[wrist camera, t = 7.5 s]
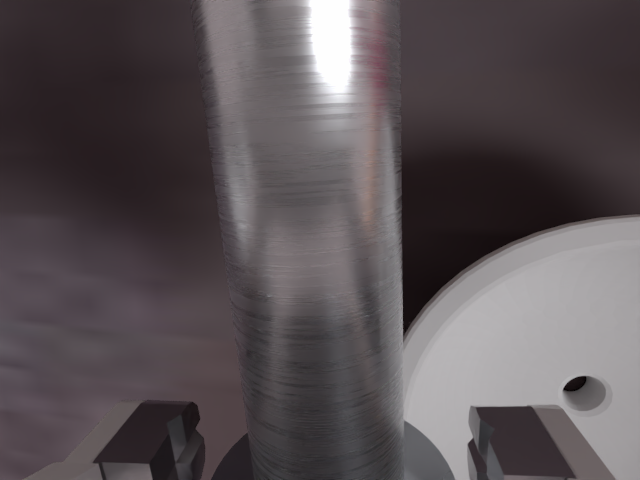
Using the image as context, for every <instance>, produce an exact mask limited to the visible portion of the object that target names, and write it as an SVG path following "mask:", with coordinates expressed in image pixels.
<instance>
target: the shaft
mask: <svg viewBox="0 0 640 480" xmlns="http://www.w3.org/2000/svg"><path fill="white" fill-rule="evenodd" d="M190 5H191V12H192V20H193V27H194V35H195V42H196V50H197V57H198V65H199V72H200V80H201V87H202V94H203V102H204V109H205V117H206V124H207V132H208V139H209V147H210V154H211V162H212V169H213V176H214V184H215V191H216V199H217V206H218V214H219V221H220V229H221V236H222V244H223V251H224V258H225V266H226V273H227V281H228V288H229V296H230V303H231V311H232V318H233V326H234V333H235V340H236V348H237V355H238V363H239V370H240V378H241V385H242V393H243V400H244V408H245V415H246V422H247V430H248V433H247V434H245V435H244V436H243V437H242V438H241V439H240V440H239V441H238V442H237V443H236V444H235V445H234V446H233V447H232V448H231V449H230V450H229V452H228V453H227V454H226V455H225V457H224V458H223V460H222V461H221V463H220V464H219V466H218V467H217V469H216V471H215V473H214V475H213V477H212V479H211V480H455V477H454V475H453V473H452V471H451V469H450V467H449V465H448V463H447V461H446V460H445V458H444V457H443V455H442V454H441V452H440V451H439V450H438V449H437V447H436V446H435V445H434V444H433V443H432V442H431V441H430V440H429V439H428V438H427V437H426V436H425V435H424V434H423V433H422V432H421V431H419V430H418V429H417V428H415V427H414V426H412V425H411V424H410V423H408V422H406V421H405V420H404V392H403V286H402V179H401V73H400V0H190Z"/></svg>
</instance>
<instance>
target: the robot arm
mask: <svg viewBox="0 0 640 480" xmlns="http://www.w3.org/2000/svg"><path fill="white" fill-rule="evenodd" d="M199 421H200V415H199V410H198V406H197V405H196V404H195V403H194V402H187V401H160V400H147V401H145V400H123V401H120V402H118V403H117V404H116V405H115V406H114V407H113V408H112V409H111V410H110V411H109V412H108V413H107V414H106V416H105V417H104V418H103V419H102V420H101V421H100V422H99V423H98V424H97V425H96V426H95V428H94V429H93V430H92V431H91V432H90V433H89V434H88V435H87V436H86V437H85V438H84V440H83V441H82V442H81V443H80V444H79V445H78V446H77V447H76V448H75V449H74V450H73V452H72V453H71V454H70V455H69V456H68V457H67V458H66V459H65V460H64V461H63V462H54V463H52V464H51V465H49V466H47V467H45V468H43V469H42V470H40V471H38V472H36V473H34V474H32V475H31V476H29V477H27V478H25V479H23V480H200V479H201V476H202V472H203V467H204V463H205V444H204V438H203V437H202V436H201V434H200V433H199V432H198V431H197V430H196V429H195V428H196V426H197V424H198V423H199ZM468 424H469V427H470V430H471V433H472V435H473V438H472V439H471V440H470V442H469V443H468V444H467V461H468V471H469V478H470V480H616V479H615V477H614V476H613V475H612V473H611V472H610V471H609V469H608V468H607V467H606V465H605V464H604V463H603V461H602V460H601V459H600V457H599V456H598V455H597V453H596V452H595V451H594V449H593V448H592V447H591V445H590V444H589V443H588V441H587V440H586V439H585V437H584V436H583V435H582V434H581V432H580V431H579V430H578V428H577V427H576V426H575V424H574V423H573V422H572V420H571V419H570V418H569V416H568V415H567V414H566V412H565V411H564V410H563V408H561V407H560V406H558V405H527V406H480V405H471V406H470V410H469V419H468Z"/></svg>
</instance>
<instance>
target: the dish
mask: <svg viewBox="0 0 640 480" xmlns="http://www.w3.org/2000/svg"><path fill="white" fill-rule="evenodd" d="M579 376H586V383H585V384H584V386H583V387H582V388H580V389H579V390H576V391H571V392H570V391H565V390H563V388H564V386H565V385H566V384H567V383H568V382H569V381H570V380H572V379H573V378H576V377H579ZM403 392H404V420H405V421H406V422H408V423H410V424H411V425H412V426H414V427H415V428H417V429H418V430H419V431H421V432H422V433H423V434H424V435H425V436H426V437H427V438H428V439H429V440H430V441H431V442H432V443H433V444H434V445H435V446H436V447H437V449H438V450H439V451H440V452H441V454H442V455H443V457H444V458H445V460H446V461H447V463H448V465H449V467H450V469H451V471H452V473H453V475H454V477H455V480H470V478H469V471H468V461H467V444H468V443H469V442H470V440H471V439H472V438H473V435H472V433H471V430H470V427H469V424H468V419H469V410H470V406H471V405H480V406H527V405H558V406H560V407H561V408H563V410H564V411H565V412H566V414H567V415H568V416H569V418H570V419H571V420H572V422H573V423H574V424H575V426H576V427H577V428H578V430H579V431H580V432H581V434H582V435H583V436H584V437H585V439H586V440H587V441H588V443H589V444H590V445H591V447H592V448H593V449H594V451H595V452H596V453H597V455H598V456H599V457H600V459H601V460H602V461H603V463H604V464H605V465H606V467H607V468H608V469H609V471H610V472H611V473H612V475H613V476H614V477H615V479H616V480H640V214H634V215H623V216H612V217H601V218H594V219H589V220H584V221H578V222H573V223H567V224H564V225H560V226H557V227H553V228H550V229H546V230H543V231H539V232H536V233H534V234H531V235H528V236H526V237H523V238H521V239H518V240H516V241H513V242H511V243H509V244H507V245H505V246H503V247H501V248H499V249H497V250H495V251H493V252H491V253H489V254H487V255H485V256H484V257H482V258H481V259H479V260H477V261H476V262H474V263H473V264H471V265H470V266H468V267H467V268H465V269H464V270H462V271H461V272H460V273H459V274H457V275H456V276H455V277H454V278H453V279H451V280H450V281H449V282H448V283H447V284H445V285H444V286H443V287H442V288H441V289H440V290H439V291H438V292H437V293H436V294H435V295H434V296H433V297H432V298H431V299H430V300H429V301H428V302H427V304H426V305H425V306H424V307H423V308H422V310H421V311H420V312H419V314H418V315H417V316H416V318H415V319H414V320H413V322H412V323H411V324H410V326H409V328H408V330H407V331H406V333H405V335H404V337H403Z"/></svg>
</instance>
